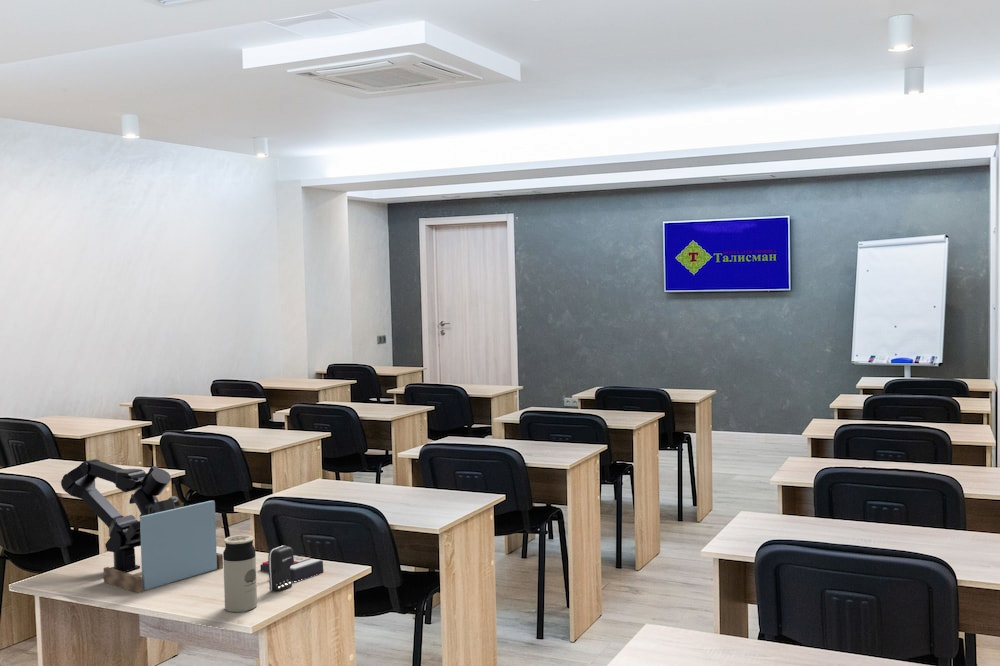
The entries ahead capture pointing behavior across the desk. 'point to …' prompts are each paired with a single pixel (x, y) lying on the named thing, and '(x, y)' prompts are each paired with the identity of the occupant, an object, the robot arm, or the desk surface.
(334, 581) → the desk surface
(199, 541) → the panel
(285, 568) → the battery charger
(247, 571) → the travel mug
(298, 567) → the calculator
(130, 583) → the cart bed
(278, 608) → the desk surface
